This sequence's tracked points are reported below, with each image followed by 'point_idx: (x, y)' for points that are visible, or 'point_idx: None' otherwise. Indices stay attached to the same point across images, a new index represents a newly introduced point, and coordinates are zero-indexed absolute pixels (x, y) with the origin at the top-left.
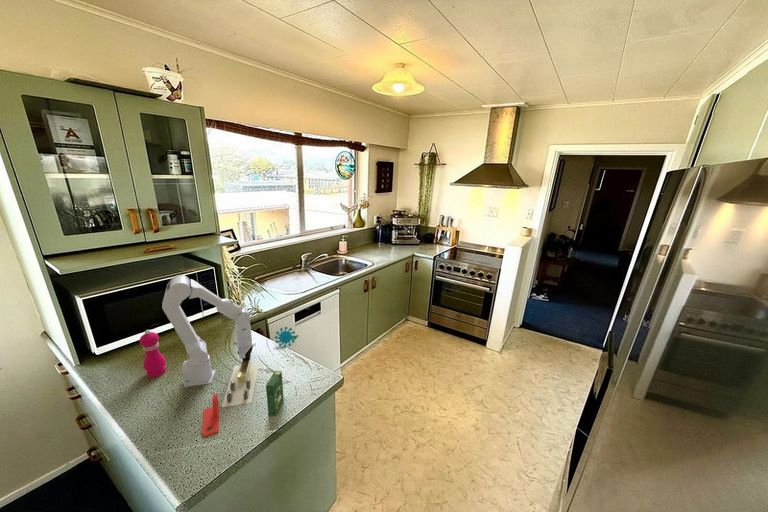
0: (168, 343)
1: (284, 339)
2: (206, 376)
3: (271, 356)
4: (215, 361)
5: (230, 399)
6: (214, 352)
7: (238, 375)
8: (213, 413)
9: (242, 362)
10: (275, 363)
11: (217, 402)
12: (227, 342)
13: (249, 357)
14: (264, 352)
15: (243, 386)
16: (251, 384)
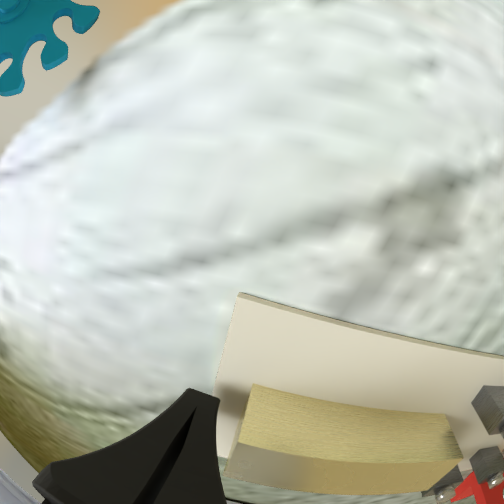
0: (39, 466)
1: (26, 14)
2: None
3: (159, 140)
4: None
5: (501, 455)
6: (61, 438)
7: (419, 489)
8: None
9: (252, 480)
10: (328, 113)
11: (501, 493)
12: (3, 374)
13: (217, 458)
14: (73, 208)
15: (464, 421)
16: (488, 381)
